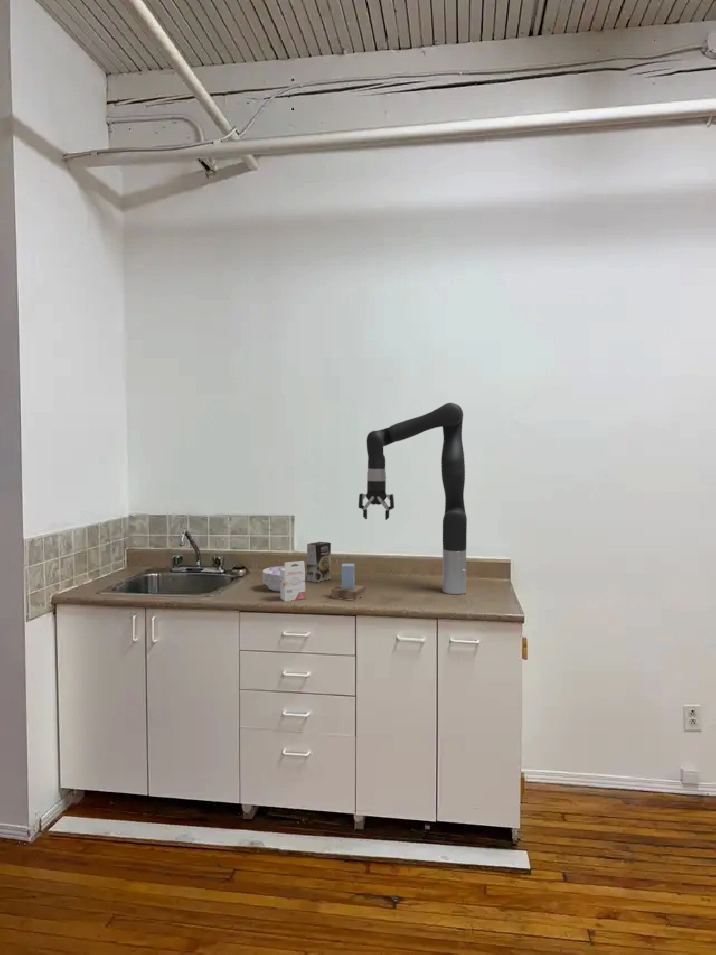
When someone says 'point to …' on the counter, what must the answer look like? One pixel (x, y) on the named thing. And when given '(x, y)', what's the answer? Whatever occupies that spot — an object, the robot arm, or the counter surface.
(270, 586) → the paper bowls
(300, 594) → the ink cartridge box
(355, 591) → the walnut block
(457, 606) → the counter surface
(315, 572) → the coffee box
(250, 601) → the counter surface
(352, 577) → the slate block
